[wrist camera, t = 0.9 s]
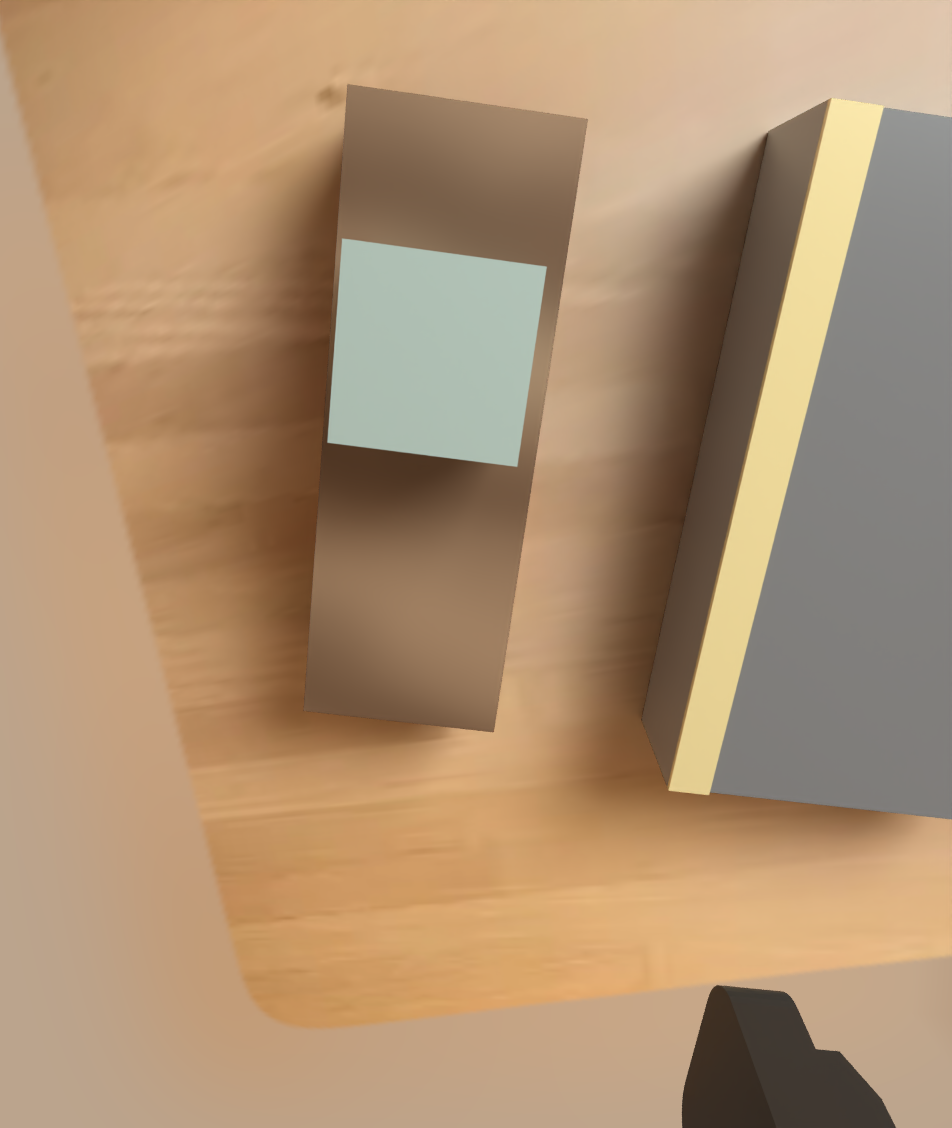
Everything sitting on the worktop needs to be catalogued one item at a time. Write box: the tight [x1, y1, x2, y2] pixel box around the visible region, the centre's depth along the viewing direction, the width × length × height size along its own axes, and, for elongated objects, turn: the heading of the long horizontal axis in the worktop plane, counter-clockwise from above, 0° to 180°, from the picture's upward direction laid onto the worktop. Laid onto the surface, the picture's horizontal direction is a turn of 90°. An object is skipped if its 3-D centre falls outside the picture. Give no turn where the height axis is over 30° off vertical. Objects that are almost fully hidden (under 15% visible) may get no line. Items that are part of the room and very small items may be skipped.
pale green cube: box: [327, 238, 547, 467], centre depth 19 cm, size 4×4×4 cm
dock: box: [641, 98, 952, 819], centre depth 23 cm, size 18×11×4 cm, turn 173°
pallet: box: [304, 84, 588, 732], centre depth 23 cm, size 16×6×4 cm, turn 173°
